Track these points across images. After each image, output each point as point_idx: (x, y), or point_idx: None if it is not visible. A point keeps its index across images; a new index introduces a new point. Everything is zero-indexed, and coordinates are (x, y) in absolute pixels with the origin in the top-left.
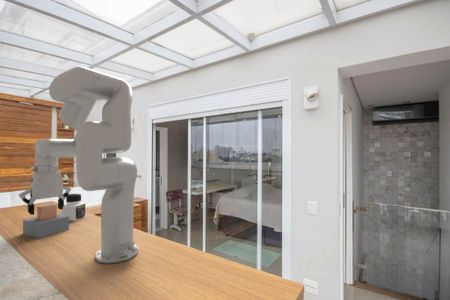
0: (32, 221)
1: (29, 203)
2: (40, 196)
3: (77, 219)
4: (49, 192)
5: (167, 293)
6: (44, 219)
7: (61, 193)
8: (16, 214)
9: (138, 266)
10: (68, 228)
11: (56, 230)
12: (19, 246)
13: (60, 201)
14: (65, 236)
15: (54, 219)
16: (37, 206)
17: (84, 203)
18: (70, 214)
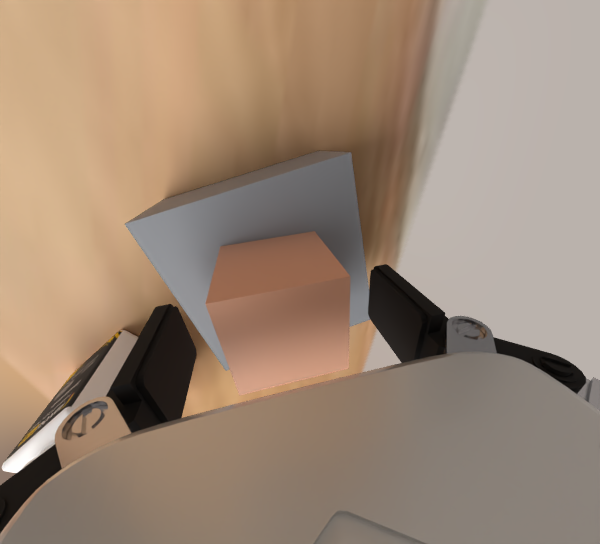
0: (355, 251)
1: (474, 331)
2: (474, 388)
3: (111, 338)
4: (338, 531)
5: None
6: (299, 235)
7: (28, 518)
8: None
9: None
10: (162, 200)
11: (231, 180)
12: (406, 94)
13: (150, 374)
14: (189, 53)
15: (239, 198)
16: (348, 360)
17: (8, 460)
18: None
